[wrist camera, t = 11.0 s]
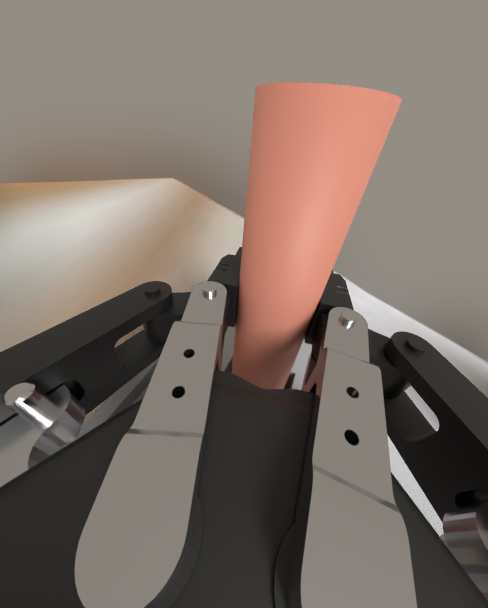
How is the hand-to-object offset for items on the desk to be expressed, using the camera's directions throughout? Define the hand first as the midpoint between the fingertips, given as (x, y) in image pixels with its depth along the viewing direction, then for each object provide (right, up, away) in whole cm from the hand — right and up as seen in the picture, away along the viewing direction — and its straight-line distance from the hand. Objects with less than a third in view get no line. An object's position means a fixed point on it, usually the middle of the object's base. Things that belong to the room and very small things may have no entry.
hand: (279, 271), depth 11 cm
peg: (-1, -9, +4) cm, 10 cm away
